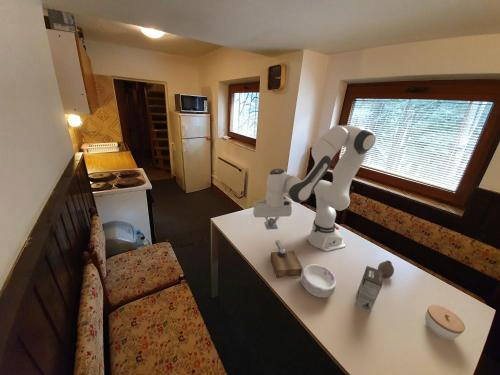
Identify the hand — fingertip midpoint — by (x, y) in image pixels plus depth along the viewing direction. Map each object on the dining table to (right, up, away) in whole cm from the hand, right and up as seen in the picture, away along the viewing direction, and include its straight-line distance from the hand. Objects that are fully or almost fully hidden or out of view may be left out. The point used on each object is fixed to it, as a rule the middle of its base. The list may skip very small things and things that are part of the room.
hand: (271, 222), depth 109 cm
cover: (0, -2, +1) cm, 2 cm away
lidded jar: (+64, -38, -28) cm, 80 cm away
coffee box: (+40, -32, -18) cm, 55 cm away
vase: (+59, -27, -3) cm, 65 cm away
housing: (+7, -23, -2) cm, 25 cm away
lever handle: (+5, -15, +2) cm, 16 cm away
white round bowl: (+20, -29, -12) cm, 38 cm away
